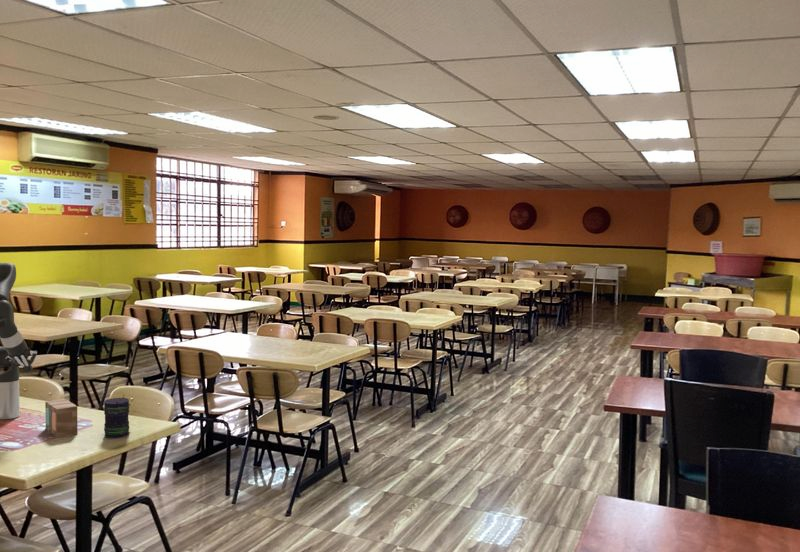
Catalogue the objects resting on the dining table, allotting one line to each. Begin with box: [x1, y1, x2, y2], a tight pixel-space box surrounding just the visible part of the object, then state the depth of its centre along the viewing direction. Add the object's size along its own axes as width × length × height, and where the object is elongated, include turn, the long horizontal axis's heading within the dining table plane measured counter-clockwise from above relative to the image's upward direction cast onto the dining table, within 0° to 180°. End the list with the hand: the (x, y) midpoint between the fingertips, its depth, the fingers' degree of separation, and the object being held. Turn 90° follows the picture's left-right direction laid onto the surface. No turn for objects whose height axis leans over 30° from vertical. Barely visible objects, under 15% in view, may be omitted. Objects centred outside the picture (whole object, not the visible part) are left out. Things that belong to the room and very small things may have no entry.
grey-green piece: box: [45, 407, 50, 426], centre depth 281 cm, size 5×6×7 cm
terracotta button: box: [52, 412, 56, 431], centre depth 275 cm, size 5×6×7 cm
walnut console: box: [44, 398, 79, 438], centre depth 279 cm, size 17×8×12 cm, turn 43°
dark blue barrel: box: [103, 397, 130, 440], centre depth 275 cm, size 10×10×15 cm
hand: (29, 370), depth 278 cm, fingers closed
